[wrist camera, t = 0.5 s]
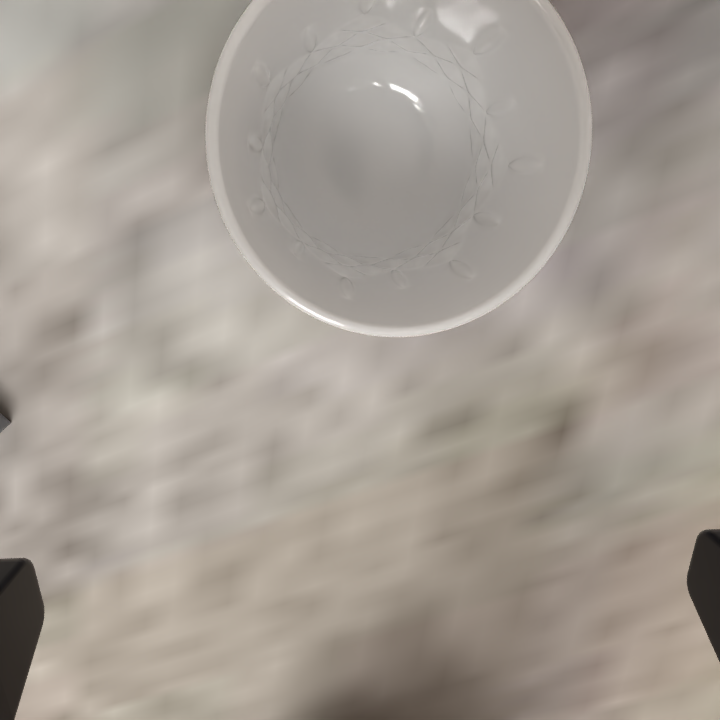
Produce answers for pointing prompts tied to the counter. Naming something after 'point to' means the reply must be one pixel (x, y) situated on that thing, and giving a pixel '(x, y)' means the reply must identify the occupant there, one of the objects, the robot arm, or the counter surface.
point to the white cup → (398, 154)
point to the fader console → (3, 422)
